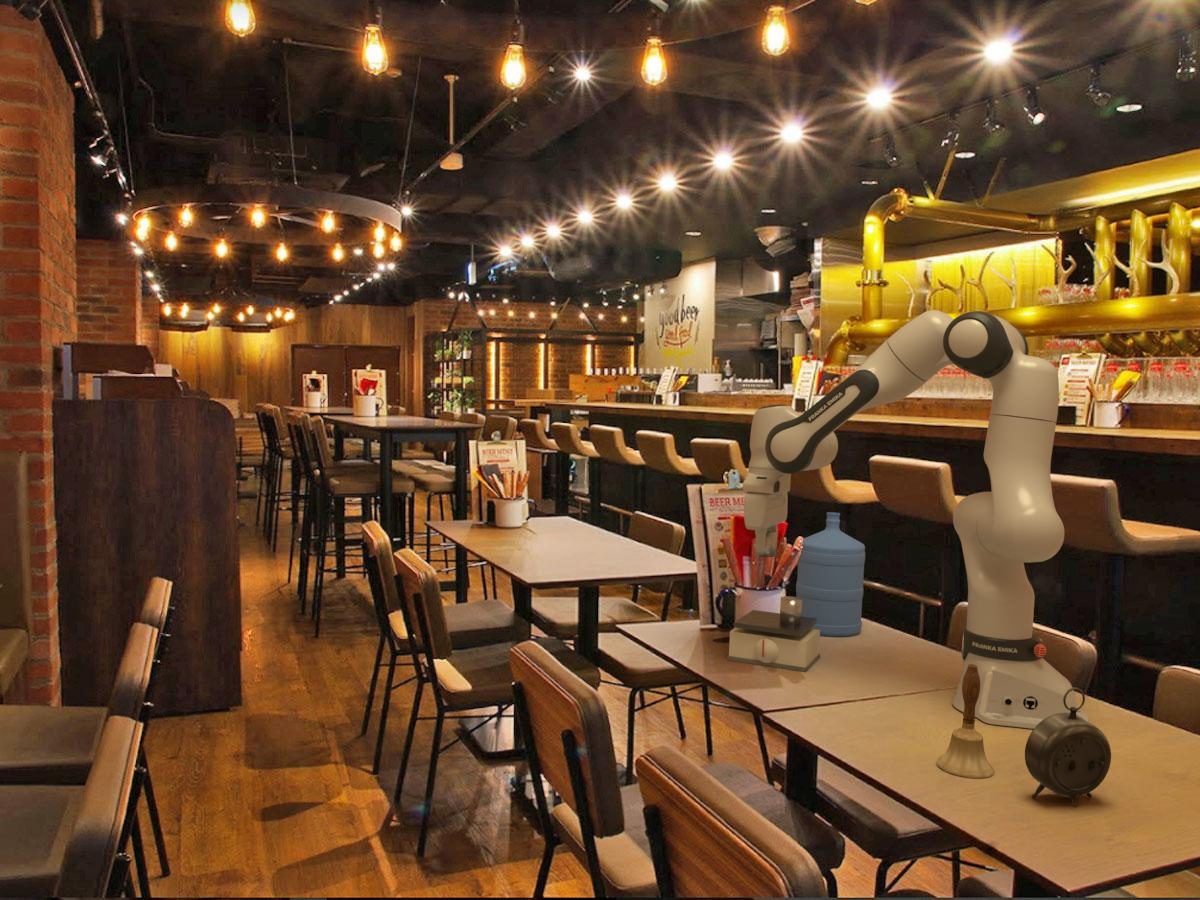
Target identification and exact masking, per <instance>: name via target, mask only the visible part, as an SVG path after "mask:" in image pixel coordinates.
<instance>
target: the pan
mask: <svg viewBox="0 0 1200 900" xmlns="http://www.w3.org/2000/svg"><path fill="white" fill-rule="evenodd" d="M816 623H817V618H811V617H803V616H801V624H798V625H788V624H783V623H780V612H779V613H778V612H771V611H764V610H757V609H752V610H751V611H749V612H748V613H746V614H744V615H743V616H741V617H740V618H739V619H737V620H735V621H734V622H733V628H742V629H749V630H756V631H763V632H771V633H778V634H785V635H792V636H799V637H801V636H802V635H803V634H804V633H805V632H807V631H808V630H809V629H810V628H811V627H812V626H813V625H815V624H816Z"/></svg>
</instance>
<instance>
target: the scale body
mask: <svg viewBox="0 0 1200 900" xmlns="http://www.w3.org/2000/svg"><path fill="white" fill-rule="evenodd" d="M820 636H821V635H820V630H817V629H809V630H808V631H807V632H805V633H804V634H803V635H802V636H801V637H799V636H792V635H785V634H778V633H771V632H763V631H756V630H749V629H742V628H735V627H733V629H731V630H730V631H729V647H728V649H729V650H728V654H727V656H726V660H727V661H733V662H740V663H744V664H745V663H746V664H752V665H759V666H765V667H771V668H779V669H785V670H791V671H798V672H804V673H806V672H808V671H809V669H811V668H812V667H813V665H815V664H816V662H818V660H820V659H821V653H819V652H820Z"/></svg>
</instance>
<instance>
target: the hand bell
mask: <svg viewBox="0 0 1200 900" xmlns="http://www.w3.org/2000/svg"><path fill="white" fill-rule="evenodd" d="M979 694H980V677H979V673H978V669H977V666H976V665H974V664H969V665H968V668H967V670H966V673H965V675H964V677H963V681H962V695H963V699H964V712H963V714H962V715H963V717H962V726H961V727H959V728H955V729H954V730H953V731H952V732H951V737H950V741H949V745H948V747H947V749H946V751H945V752H944V753H943V754H942V755H940V756H939V757H938V758H937V760H936V765H937V767H938V768H939V769H941V770H942V771H943V772H946V773H948V774H951V775H954V776H958V777H962V778H969V779H987V777H988V778H990V776H991V777H993V776H994V775H995V769H994V767H993V765H992V764H991V763H990V761H989V760H988V759H987V755H986V752H985V748H984V746H985V745H984V736H983V734H982V733H981V732H979V731H977V730H976V729H975V722H976V720H975V719H976V717H975V706H976V703H977V700H978V698H979ZM992 775H993V776H992Z"/></svg>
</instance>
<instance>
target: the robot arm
mask: <svg viewBox="0 0 1200 900" xmlns="http://www.w3.org/2000/svg"><path fill="white" fill-rule="evenodd" d="M1029 353H1030V352H1029V344H1028V341H1027V339H1026V337H1025V335H1024V334H1023V333H1022V331H1021V330H1020V329H1019V328H1018V327H1015V326H1014V325H1012V324H1011V323H1010V322H1009V321H1007V320H1006V319H1004V318H1002V317H1000V316H996V315H993V314H991V313H989V312H985V311H969V312H964V313H963V314H962V313H961V314H960V315H958V316H956V317H955V318H953V317H952V316H950V315H949V314H948V313H945V312H943V311H941V310H937V309H930V310H926V311H924V312H922V313H921V314H919V315H917V316H916V317H914V318H913V319H911V320H910V321H908V322H907V323H906V324H904V325H903V326H901V327H900V328H899V329H898V330H897V331H895V332H894V333H893V334H891V336H890V337H888V338H887V339H886V340H885V341H884V342H882V344H881V345H880V346H879V347H878V348H876V349H875V351H873V352H872V353H871V354H870V355H869V356H868V357H867V358H866V359H865V360H864V361H863V362H862V363H861V364H860V365H859V366H858V367H856V369H854V371H852V372H851V374H849V375H848V377H846V378H845V379H844V380H843V381H841V382H840V383H839V384H838V385H836V386H835V387H834V388H833V389H832V390H830V391H829V392H827V394H825V395H824V396H823V397H822V398H820V399H819V400H818V401H817V402H815V403H814V404H813V405H812V406H810V407H809V408H808V409H807V410H806V411H805V412H803V413H802V414H800V413H799V412H797V411H796V410H795V409H794V408H793V407H792V406H790V405H788V404H783V403H782V404H781V403H780V404H770V405H765V406H762V407H760V408H757V410H755V412H754V414H753V417H752V420H751V421H752V422H751V427H750V437H749V438H750V439H749V449H750V460H749V463H748V468H747V469H748V472H747V476H746V478H745V479H744V480H743V481H742V491H743V492H745V494H744V499H743V500H744V501H743V504H744V505H743V507H744V508H743V515H744V516H743V518H744V521H743V522H744V525H745V528H746V529H747V530H751V531H754V534H755V540H756V539H757V548H758V549H765V548H766V547H767V540H766V533H767V530H769V531H776V532H778V525H779V524H782V523H784V522H786V521H787V518H788V504H789V503H788V502H789V501H788V500H789V499H788V498H789V497H788V496H789V495H788V492H790V491H791V483H792V482H791V480H792V478H791V477H792V474H796V473H799V472H802V471H811V470H818V469H822V468H824V467H827V466H828V465H830V464H832V463H833V461H834V460H835V459H836V457H837V456H838V452H839V440H838V437H837V435H836V433H835V431H837V429H839V427H841V426H842V425H844V423H846V422H847V421H849V420H850V419H851V418H852V417H855V415H857V414H859V413H861V412H864V411H866V410H869V409H871V408H874V407H875V408H876V407H879V406H883V405H887V404H892V403H896V402H900V401H901V400H903V399H904V398H906V397H908V396H910V395H911V394H913V393H915V392H916V391H918V389H920V388H922V387H923V386H924V385H925V384H927V382H928V381H930V379H931V378H933V377H934V376H935V375H936V374H937V373H939V372H940V371H941V370H942V369H943V368H946V367H947V366H950V365H955V366H956V367H957V368H958V369H961V370H963V371H965V372H967V373H969V374H971V375H973V376H974V377H975V376H976V377H979V378H983V379H987V380H988V381H989V383H990V385H991V388H992V399H991V400H992V401H991V406H990V411H989V417H988V426H987V431H986V438H985V443H984V450H983V459H984V463H985V464H986V466H987V468H988V473H989V479H990V487H991V491H981V492H977V493H972V494H969V495H967V496H965V497H963V498H962V499H961V500H960V501H959V502H958V503H957V505H956V507H955V508H954V511H953V513H952V514H953V515H952V522H953V523H952V524H953V528H954V530H955V531H956V533H957V535H958V538H959V540H960V542H961V543H960V544H961V548H962V554H963V560H964V564H965V571H966V579H967V589H968V590H967V593H968V594H967V609H966V611H967V613H966V615H967V616H966V627H965V628H964V630H963V634H962V643H961V655H962V660H963V661H962V666H961V667H962V668H961V673H960V677H959V681H958V684H957V688H956V691H955V694H954V697H953V700H952V702H951V704H952V706H953V707H954V708H955V709H957V710H958V711H960V712H962V713H964V699H963V695H962V681H963V677H964V675H965V673H966V670H967V668H968V665H969V664H974V665H976V666H977V669H978V673H979V677H980V694H979V698H978V700H977V703H976V706H975V718H977V719H979V720H980V721H981V722H983V723H986V724H989V725H997V726H1004V727H1005V726H1006V727H1015V728H1024V729H1030V730H1033V729H1034V728H1035V727H1036V726H1037V725H1038V724H1039V723H1040V722H1041V721H1042V720H1044V719H1045V718H1047V717H1049V716H1051V715H1054V714H1058V713H1070V712H1071V711H1070V710H1068V709H1067V708H1066V707H1065V706H1064V702H1063V698H1064V695H1065V693H1066V692H1067V691H1068V690H1069V689H1071V688H1073V686H1072V683H1071V682H1070V681H1069V679H1067V677H1065V676H1064V675H1062V674H1061V672H1059V671H1058V670H1056V668H1054V667H1053V666H1052V665H1051V664H1050V663H1049V662H1047V661H1046V660H1045V659H1044V657H1045V656H1046V653H1047V647H1046V646H1045V643H1044V642H1043V639H1042V638H1038V637H1037V636H1035V635H1033V629H1034V625H1033V624H1034V611H1035V591H1034V588H1033V586H1032V584H1031V582H1030V580H1029V579H1028V575H1027V573H1026V572H1027V571H1026V569H1025V563H1042V562H1045V561H1047V560H1050V559H1052V558H1053V557H1054V556H1055V555H1057V553H1058V552H1059V551H1060V550H1061V547H1062V546H1063V543H1064V540H1065V527H1064V523H1063V521H1062V519H1061V517H1060V515H1059V514H1058V512H1057V510H1056V507H1055V502H1054V497H1053V488H1052V479H1051V463H1052V454H1053V448H1054V440H1055V433H1056V426H1057V422H1058V421H1057V420H1058V416H1059V415H1058V413H1059V405H1060V402H1059V400H1060V398H1059V397H1060V384H1059V373H1058V370H1057V367H1056V366H1055V365H1054V364H1052V362H1050V361H1048V360H1046V359H1044V358H1042V357H1038V356H1035V355H1034V356H1032V355H1029ZM1066 705H1067V707H1068V708H1071V707H1076V708H1078V707H1079V706H1077V701H1076V695H1075V690H1072V691H1070V692H1069V693H1068V695H1067V697H1066ZM1076 715H1078V716H1080V717H1081V718H1083V719H1084V720H1086V721H1087V722H1089V723H1090V721H1089V720H1090V719H1089V715H1088V714H1087V712H1086V711H1085V710H1083V709H1082V708H1080V709H1079V710H1077V712H1076Z"/></svg>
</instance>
